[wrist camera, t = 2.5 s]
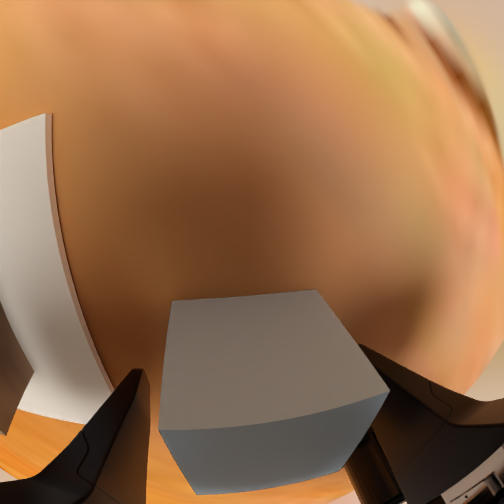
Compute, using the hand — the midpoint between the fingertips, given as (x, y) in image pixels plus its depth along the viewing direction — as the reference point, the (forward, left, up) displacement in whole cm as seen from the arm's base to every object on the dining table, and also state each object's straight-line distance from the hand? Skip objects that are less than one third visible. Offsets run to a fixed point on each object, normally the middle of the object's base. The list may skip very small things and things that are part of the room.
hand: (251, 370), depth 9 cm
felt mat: (+2, +13, -1) cm, 13 cm away
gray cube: (0, 0, -1) cm, 1 cm away
